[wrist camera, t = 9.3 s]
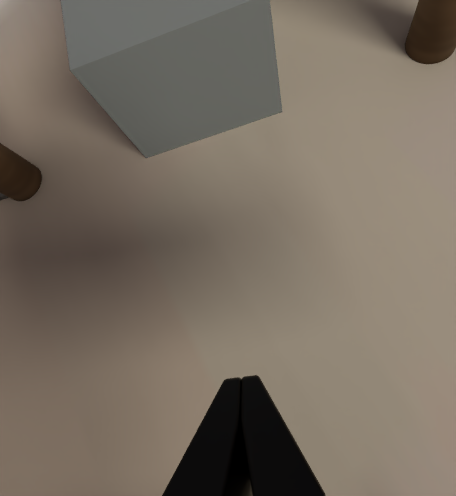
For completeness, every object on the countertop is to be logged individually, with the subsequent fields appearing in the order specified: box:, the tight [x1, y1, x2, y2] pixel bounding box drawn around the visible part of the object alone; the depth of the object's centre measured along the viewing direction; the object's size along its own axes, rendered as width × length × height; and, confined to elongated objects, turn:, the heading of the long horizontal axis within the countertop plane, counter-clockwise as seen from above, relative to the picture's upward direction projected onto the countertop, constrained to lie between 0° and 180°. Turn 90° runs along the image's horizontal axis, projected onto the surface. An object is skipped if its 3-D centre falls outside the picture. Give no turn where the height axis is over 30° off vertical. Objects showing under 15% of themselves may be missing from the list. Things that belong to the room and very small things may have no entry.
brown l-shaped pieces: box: [0, 0, 456, 201], centre depth 21 cm, size 3×52×11 cm, turn 103°
